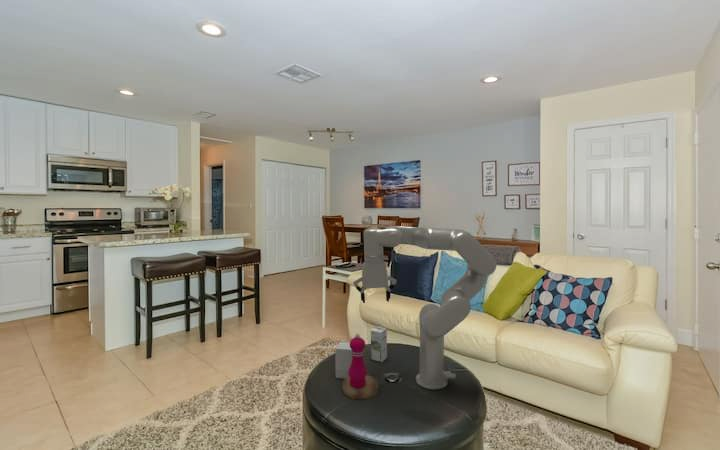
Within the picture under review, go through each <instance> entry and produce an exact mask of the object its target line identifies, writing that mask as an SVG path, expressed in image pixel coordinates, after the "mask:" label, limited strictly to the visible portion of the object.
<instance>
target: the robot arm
mask: <svg viewBox="0 0 720 450" xmlns="http://www.w3.org/2000/svg"><path fill="white" fill-rule="evenodd" d="M399 245H409V246H415V247H418V248H421V249H425V250H433V251H434V250H437V251H448V252H449V251H454V252H456V253H458V255H459V256H460V257H461V258H462V259H463V260H464V261H465V263H466V265H467V267H466V271H465V273H464V275H462V276H461V278H460V279H458V280H457V281H456V282H455V283H453V284H452V285H451V286H450V287H449V288H448V289H446V290H445V291H444V292H443V293H442V295H441V297H440V302H441V305H437V304H433V303H427V304H425V305H424V306H422V307H421V308H420V311H419V315H418V321H419V323H418V324H419V373H417V374H416V376H415V382H416V384H417V385H419V386H420V387H421V388H424V389H428V390H441V389H444V388H445V387H447V386H448V380H449V379H451V380H452V379H453V380H454V379H455V380H456V379H457V377H456V375H457V374H456V373H452V372H451V370H447V371H445V369H444V366H445V363H444V362H445V360H444V359H445V358H444V356H445V335H447V334H448V333H450V332H451V331H452V330H453V329H454V328H455V327H457V326H458V325H459V324H461V322H463V321H464V320H465V319H467V317H468V316H469V314H470V313H471V310H472V308H471V307H472V303H471V300H472V299H474V298H475V296H476V295H478V294H479V293H480V292H481V291H482V290H483V288H484V287H485V285H486V283H487V280H488V276H490V275H492V274H493V273H495V271H496V269H497V261H496V259H495V257H494V256H493V255H492V254H491V253H490V252H489V251H488V250H487V249H486V247H484V246H483V244H481V243H480V241H478V239H477V238H476V237H474V235H473V234H471V233H470V232H469V231H466V230H462V229H457V228H456V229H455V228H441V227H440V228H438V227H437V228H436V227H424V226H423V227H414V226H402V225H390V226H387V227H386V228H383V229H381V228H378V227H371V228H370V227H369V228H366V229H364V230H363V251H364V252H363V253H364V262H362V265H361V266H362V269H361V277H359V278H358V279H356V280H354V281H353V286H354V287H355V289H356V290H357V291H358V292H359V293H360V301H362V304H365V303H366V299H365V298H366V297H365V290H366V289H378V288H379V289H382V288H384V289H386V290H385V300H386V301H387V302H388V303H389V302H390V300H391V292H392V290H393V289H394V287H395V285H396V284H397V279H395V278H393V277H392V276H389V275H388V269H387V264H386V261H385V260H388V255H385V254H384V247H387V248H388V247H389V248H396V247H398V246H399ZM389 281H390V282H391V284H390V285H389ZM360 283H362V284H361V285H362V286H359V284H360Z"/></svg>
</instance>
